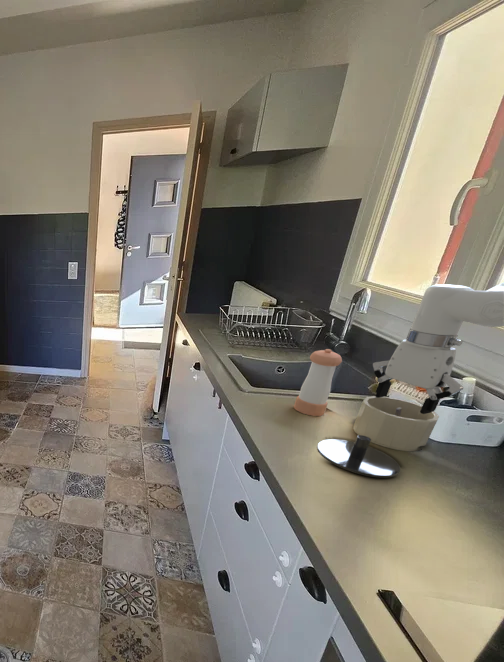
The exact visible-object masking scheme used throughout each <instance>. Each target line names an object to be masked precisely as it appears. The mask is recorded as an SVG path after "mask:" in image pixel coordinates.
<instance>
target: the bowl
mask: <svg viewBox="0 0 504 662" xmlns="http://www.w3.org/2000/svg"><path fill="white" fill-rule="evenodd" d="M375 396H376V395H371V396H366V397H364V398H363V400H362V403H361V405H360V408H359V410H358V413H357V416H356V418H355V421H354V423H353V426H352V429H353V432H354V433H355V434H357V436H358V435H363V436H366V437H369V438H370V439H371V441H370V443H372V444H375V445H378V446H381V447H384V448H387V449H392V450H396V451H400V452H401V451H403V452H419V451H420V452H421V451H422V450H423V448H422V447H424V446H426V445H427V443H428V441H429V439H430V437H431V435H432V432H433V430H434V428H435V427H436V424H437V422H438V420H439V418H440V416H439V415H438V414H437V412H435V411H433V412H431V413H427V414H422V413H421V412H420V410H421V408H422V406H423V404H422V405H421V404H418V403H416V402H413V401H409V400H407V399H401V398H396V397H390V396H385V397H380V398H377V397H375ZM399 407H400V408H402V410H401V414H400V417H399V416H396V415H395V412H396V409H397V408H399Z"/></svg>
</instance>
